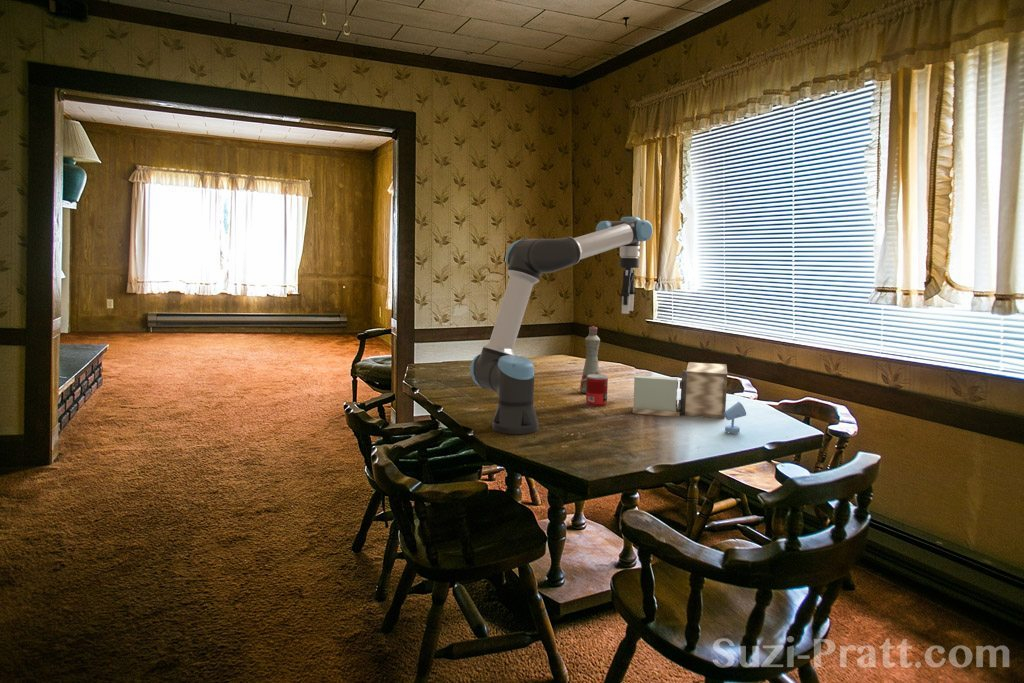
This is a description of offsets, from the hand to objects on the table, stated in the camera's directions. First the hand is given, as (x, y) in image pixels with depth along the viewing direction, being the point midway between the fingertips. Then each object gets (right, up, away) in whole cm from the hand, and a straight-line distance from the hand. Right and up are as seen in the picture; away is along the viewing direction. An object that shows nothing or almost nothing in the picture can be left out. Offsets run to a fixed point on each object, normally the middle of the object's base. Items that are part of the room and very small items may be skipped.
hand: (627, 312), depth 259 cm
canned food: (-13, -36, -5) cm, 38 cm away
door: (+7, -38, -18) cm, 42 cm away
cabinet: (+17, -37, -12) cm, 42 cm away
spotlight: (+27, -41, -43) cm, 66 cm away
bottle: (-13, -33, +16) cm, 39 cm away
